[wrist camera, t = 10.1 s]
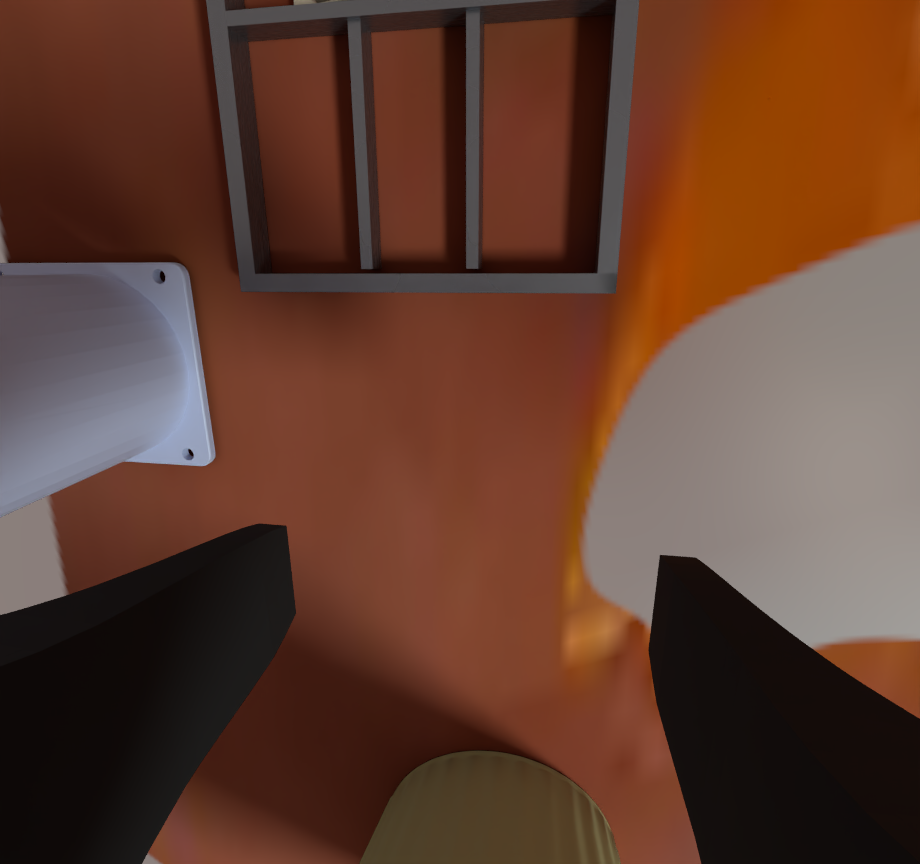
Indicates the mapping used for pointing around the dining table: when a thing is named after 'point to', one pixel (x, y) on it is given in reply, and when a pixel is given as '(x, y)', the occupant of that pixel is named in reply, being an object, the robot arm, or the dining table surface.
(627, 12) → the metal rack
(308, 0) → the offcut stack
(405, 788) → the potted cactus
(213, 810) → the dining table surface
